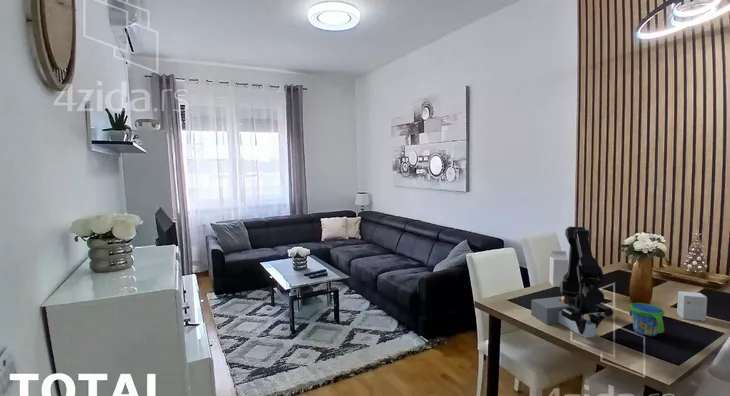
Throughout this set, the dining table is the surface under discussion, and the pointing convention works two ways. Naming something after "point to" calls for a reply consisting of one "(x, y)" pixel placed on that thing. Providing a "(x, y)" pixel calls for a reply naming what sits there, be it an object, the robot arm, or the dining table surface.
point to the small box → (692, 306)
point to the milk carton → (558, 267)
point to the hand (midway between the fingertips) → (586, 333)
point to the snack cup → (647, 319)
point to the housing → (548, 309)
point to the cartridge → (588, 330)
